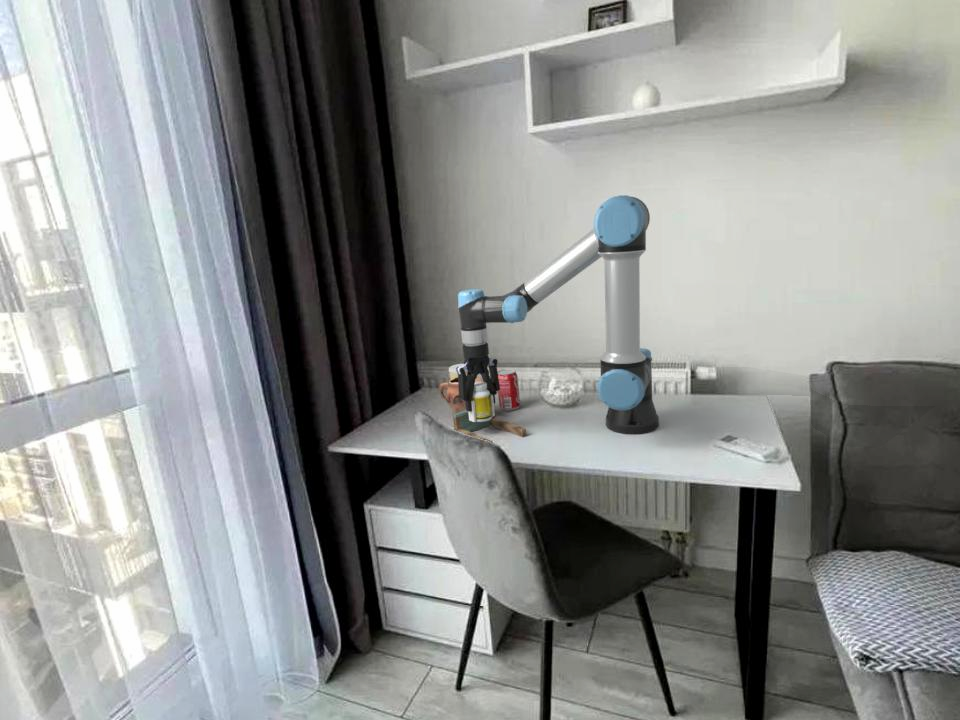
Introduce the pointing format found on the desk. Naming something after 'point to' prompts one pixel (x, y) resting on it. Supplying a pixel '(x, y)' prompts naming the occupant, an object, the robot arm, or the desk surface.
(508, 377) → the soda can
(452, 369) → the coffee cup
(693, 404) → the desk surface
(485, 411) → the pill bottle
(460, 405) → the decorative planter
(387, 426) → the desk surface
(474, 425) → the green panel wooden stand
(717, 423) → the desk surface
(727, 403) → the desk surface
